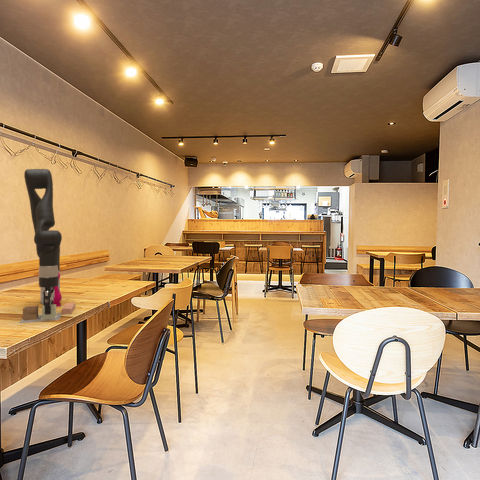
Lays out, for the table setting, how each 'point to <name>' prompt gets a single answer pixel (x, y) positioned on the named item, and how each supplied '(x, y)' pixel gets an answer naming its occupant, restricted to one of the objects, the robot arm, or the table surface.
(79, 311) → the table surface
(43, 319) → the board
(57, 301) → the pepper mill
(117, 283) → the table surface
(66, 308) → the lintel
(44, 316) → the sage cube
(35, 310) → the walnut cube
